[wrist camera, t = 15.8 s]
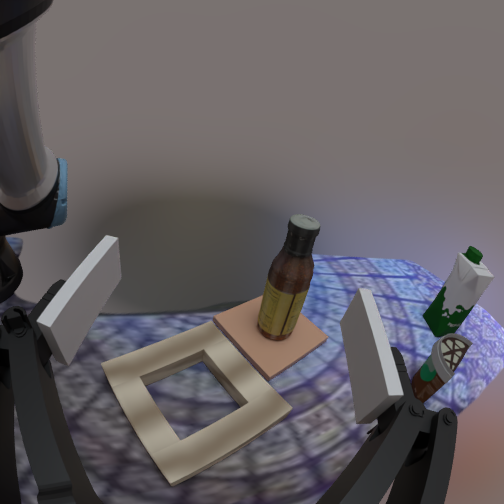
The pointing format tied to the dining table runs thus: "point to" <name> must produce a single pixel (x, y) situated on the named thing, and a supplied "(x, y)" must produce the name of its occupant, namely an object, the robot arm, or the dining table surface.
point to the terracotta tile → (267, 339)
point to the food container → (439, 365)
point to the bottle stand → (217, 434)
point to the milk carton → (458, 293)
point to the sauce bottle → (288, 279)
